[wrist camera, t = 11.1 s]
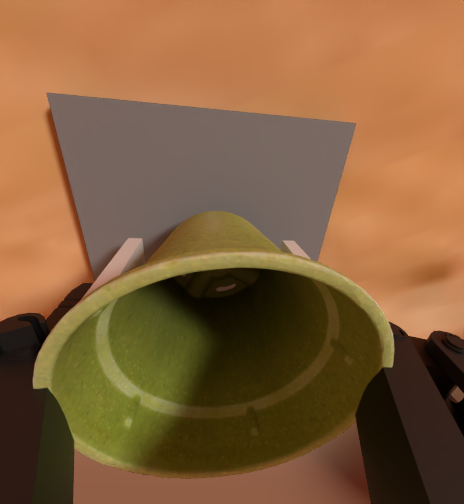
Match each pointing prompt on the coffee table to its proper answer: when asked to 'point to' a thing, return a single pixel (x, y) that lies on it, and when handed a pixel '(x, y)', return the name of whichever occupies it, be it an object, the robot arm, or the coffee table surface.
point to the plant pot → (214, 356)
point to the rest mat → (195, 171)
